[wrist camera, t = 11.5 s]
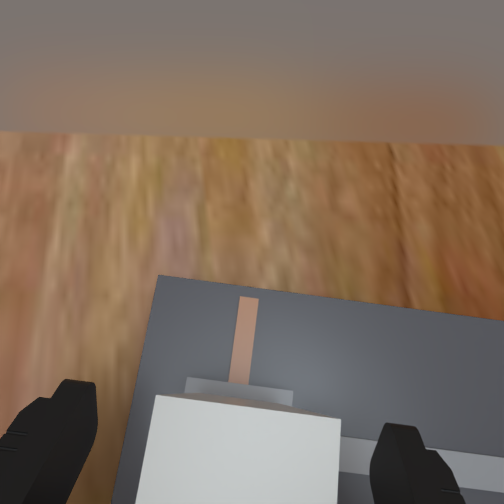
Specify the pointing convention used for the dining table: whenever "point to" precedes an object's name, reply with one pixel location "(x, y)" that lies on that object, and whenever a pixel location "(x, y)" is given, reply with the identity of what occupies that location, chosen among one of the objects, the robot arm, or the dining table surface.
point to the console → (332, 374)
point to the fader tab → (238, 448)
